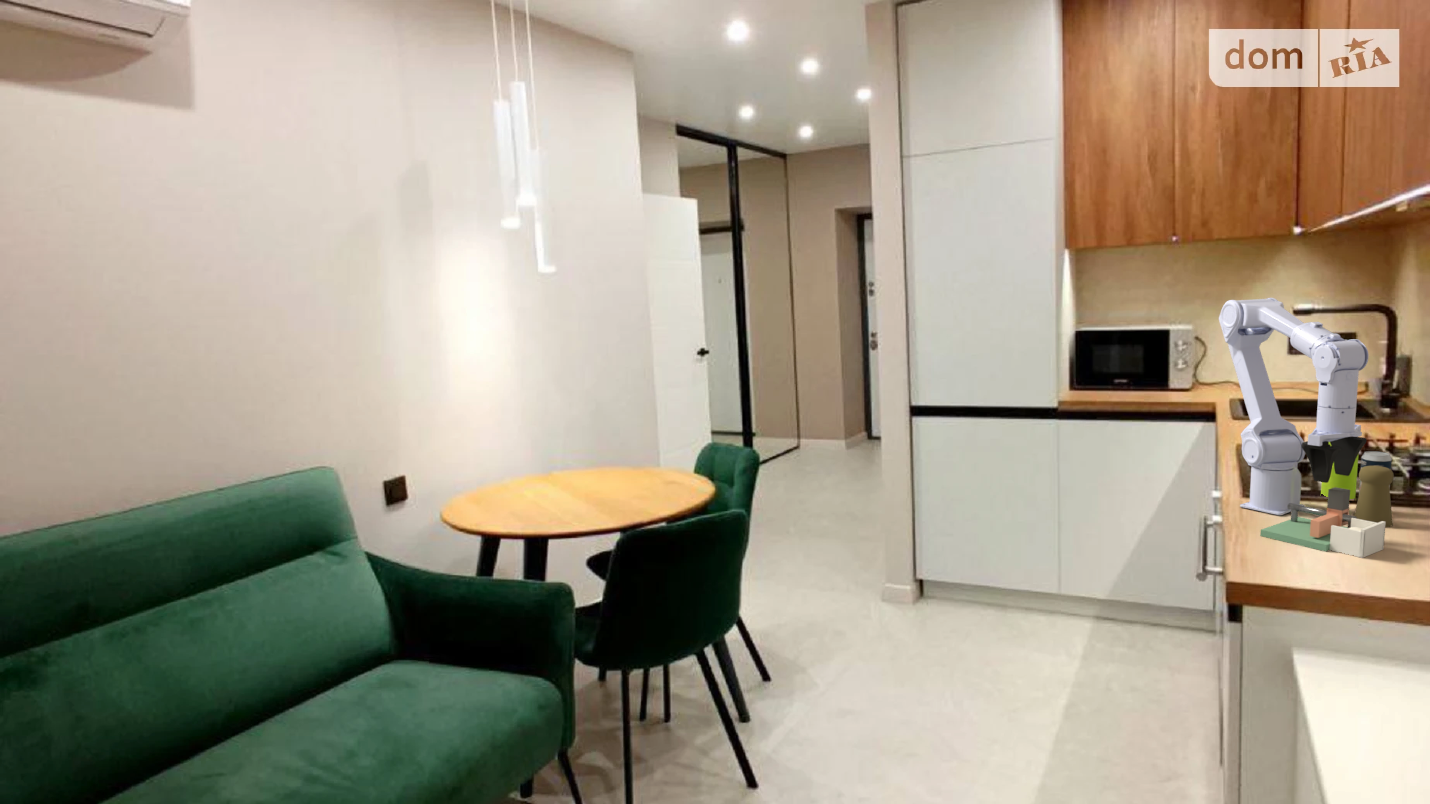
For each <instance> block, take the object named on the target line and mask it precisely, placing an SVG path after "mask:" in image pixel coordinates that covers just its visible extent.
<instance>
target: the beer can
mask: <svg viewBox="0 0 1430 804" xmlns="http://www.w3.org/2000/svg"><path fill="white" fill-rule="evenodd" d="M1360 459H1361V460H1360V461H1361V462H1360V470H1361V469H1362V467H1365V466H1382V467H1386V468H1389V469H1390V470H1391V471H1392V461H1393V459H1392V456H1391V455H1390V453H1388V452H1382V451H1375V450H1374V451H1372V450H1370V451H1369V450H1368V451H1364V453H1363V454H1362V456H1361V457H1360ZM1361 485H1362V482H1361V480H1360V479H1359V485H1358V487H1359V488H1358V494H1359V493H1360V489H1361ZM1390 488H1391V484H1390V485H1389V489H1390Z"/></svg>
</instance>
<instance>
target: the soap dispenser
mask: <svg viewBox="0 0 1430 804" xmlns="http://www.w3.org/2000/svg"><path fill="white" fill-rule="evenodd" d="M1329 444H1330V442H1329ZM1329 444H1328V445H1329ZM1330 446H1331V444H1330ZM1359 454H1360V452H1359V453H1358V455H1357V457H1356V460H1355V462H1354V465H1353V468H1352V471H1351V473H1350V475H1349V476H1345V475H1339V474H1336V473H1335V469H1334V462H1333V466H1332V471H1331V476H1330V479H1329V481H1328V482H1327V483H1324V482H1321V486H1320V495H1321V494H1323V495H1324V496H1326V497H1328V489H1331V488H1334V487H1337V488H1343V489H1348V490H1350V499H1354V498H1355V499H1356V494H1357V481H1358V480H1357V479H1358V468H1359V467H1358V465H1359Z"/></svg>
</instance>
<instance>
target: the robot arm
mask: <svg viewBox="0 0 1430 804" xmlns="http://www.w3.org/2000/svg"><path fill="white" fill-rule="evenodd" d="M1218 321H1219V325H1220V328H1221V332H1222V335H1223V339H1224V341H1225V343H1227V347H1228V350H1229V353H1230V357H1231V360H1232V364H1233V368H1234V371H1235V373H1236V378H1237V381H1238V384H1239V388H1240V390H1241V391H1240V392H1241V394H1242V397H1243V400H1244V401H1243V402H1244V404H1245V409H1246V411H1247V414H1248V415H1247V416H1248V418H1249V421H1250V423H1249V424H1248V425H1247V426H1246V427H1245V428H1244V429H1243V430H1242V431H1241V433H1240V437H1241V454H1242V457H1243V459H1244V460H1245V462H1246V463H1247V465H1248V466H1250V467H1251V468H1250V488H1249V501H1248V502H1245V503H1244V502H1243V503H1240V504H1239V507H1241V508H1244V509H1249V510H1254V511H1259V512H1263V513H1267V514H1272V515H1277V516H1282V515H1285V514H1288V513H1291V510H1290V509H1288V504H1289V503H1292V504H1297V505H1302V506H1306V505H1305V504H1302V503H1301V492H1302V491H1301V490H1302V475H1301V472H1300V470H1299V469H1298V464H1299V463H1301V462H1302V461H1303V460H1304V458H1305V455H1306V457H1307V459H1308V461H1309V465H1310V469H1311V473H1312V478H1313V481H1314V482H1319V483H1322V482H1324V483H1327V482H1328V481H1329V479H1330V476H1331V471H1332V466H1333V462H1334V469H1335V473H1336V474H1339V475H1345V476H1349V475H1350V473H1351V471H1352V468H1353V465H1354V462H1355V460H1356V457H1357V455H1358V453H1359V454H1360V451H1361V450H1362V449H1363V447H1364V446H1365V445H1366V443H1367V440H1368V439H1367V438H1366V437H1362V436H1363V432H1362V431H1361V430H1362V425H1361V424H1357V423H1356V415H1357V414H1356V413H1357V401H1358V400H1357V399H1358V390H1359V389H1358V387H1359V386H1358V385H1359V375H1360V374H1359V372H1360V371H1362V370H1363V369H1365V367H1366V366H1367V364H1368V361H1369V357H1370V356H1369V350H1368V348H1367V346H1366V345H1365V343H1363V341H1361V340H1360V339H1355V338H1353V339H1344V338H1342V337H1341V335H1340V334H1338V333H1334V332H1332V331H1330V330H1328V329H1327V328H1325V327H1323V326H1324V323H1322V322H1320V321H1310V322H1303V321H1302V320H1300V319H1299V318H1298V317H1296V316H1295V315H1294V314H1292V313H1291V312H1289V311H1288V310H1287V309H1286V308H1285V305H1284V302H1282V301H1279V300H1278V299H1277V298H1275V297H1268V298H1267V297H1266V298H1258V299H1257V298H1256V299H1240V300H1238V299H1237V300H1236V299H1229V300H1227V301H1226V302H1225V303H1224V304H1223V306H1222V308H1221V310H1220V313H1219V316H1218ZM1274 331H1276V332H1278V333H1280V334H1282V335H1284V336H1286V337H1288V338H1290V339H1289V342H1290V345H1291V346H1292V347H1293V349H1295V350H1297V351H1299V352H1300V353H1302V354H1303V355H1305V356H1306V357H1308V358H1310V359H1311V361H1312V365H1313V367H1314V370H1315V378H1316V381H1318V392H1317V394H1318V395H1317V408H1316V409H1317V410H1316V425H1315V427H1314V429H1313V430H1312V432H1311V433H1309V434H1307V440H1306V441H1304V440H1303V438H1302V437H1301V436H1300V434H1299V433H1298V431H1297V427H1296V425H1295V424H1293V423H1291V421H1288V420H1286V419H1285V418H1283V417H1282V416H1281V413H1280V411H1279V410H1280V409H1279V406H1278V403H1277V400H1276V398H1275V395H1274V391H1273V388H1272V387H1273V386H1272V384H1271V382H1270V377H1269V374H1268V372H1267V368H1266V365H1265V362H1264V359H1263V354H1262V352H1261V348H1260V347H1261V345H1262V343H1264V342H1266V341H1268V339H1269V338H1270V337H1271V335H1272V334H1273V333H1274ZM1329 442H1330V444H1331V446H1330V444H1329ZM1328 444H1329V445H1328ZM1358 456H1359V455H1358Z"/></svg>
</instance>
